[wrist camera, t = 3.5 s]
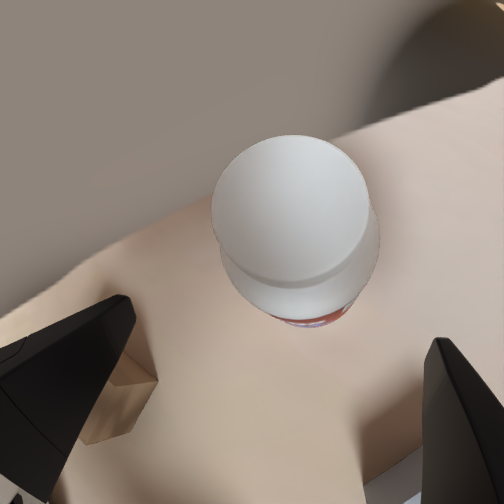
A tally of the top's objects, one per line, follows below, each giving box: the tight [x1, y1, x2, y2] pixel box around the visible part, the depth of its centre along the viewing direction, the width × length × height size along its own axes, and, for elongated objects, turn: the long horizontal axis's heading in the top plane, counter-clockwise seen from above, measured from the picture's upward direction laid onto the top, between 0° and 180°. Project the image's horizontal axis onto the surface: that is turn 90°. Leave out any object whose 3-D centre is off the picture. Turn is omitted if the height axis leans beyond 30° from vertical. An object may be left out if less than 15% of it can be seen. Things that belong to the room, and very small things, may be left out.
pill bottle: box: [211, 135, 380, 328], centre depth 14 cm, size 6×6×11 cm
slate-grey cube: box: [363, 445, 423, 504], centre depth 11 cm, size 5×5×5 cm
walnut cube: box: [78, 351, 158, 445], centre depth 18 cm, size 5×5×5 cm
